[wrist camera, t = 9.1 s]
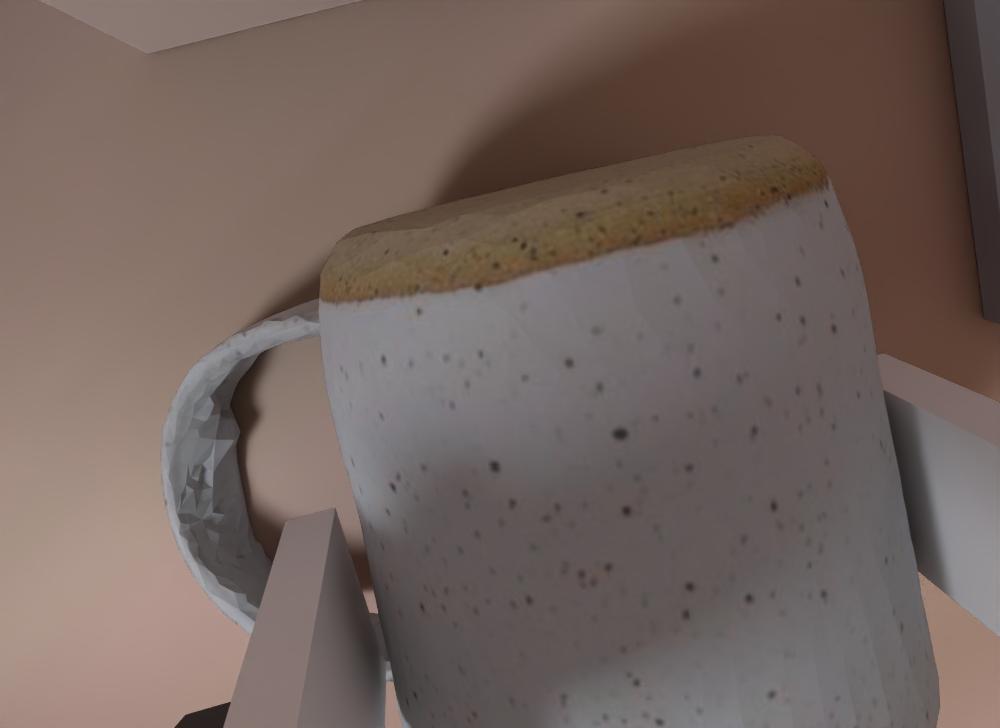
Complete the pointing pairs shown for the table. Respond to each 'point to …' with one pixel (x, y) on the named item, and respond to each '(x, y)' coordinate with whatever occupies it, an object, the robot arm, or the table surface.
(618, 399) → the ceramic mug
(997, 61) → the mat
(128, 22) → the button box
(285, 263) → the table surface
